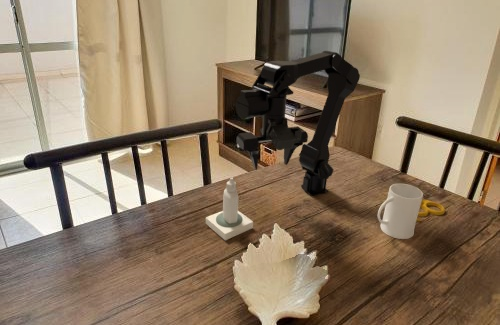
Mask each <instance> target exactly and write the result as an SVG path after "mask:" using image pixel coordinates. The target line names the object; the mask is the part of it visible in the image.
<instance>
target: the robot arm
mask: <svg viewBox="0 0 500 325" xmlns="http://www.w3.org/2000/svg"><path fill="white" fill-rule="evenodd" d="M319 72H324V73H325V74H326V75H327V80H326V87H327V92H328V93H327V96H326V97H327V98H326V100H325V103H324V105H323V108H322V111H321V114H320V117H319V120H318V122H317V124H316V128H315V131H314V134H313V136H312V139H311V140H310V141H309V140H308V138H309V135H308V132H307V131H306V130H304V129H303V128H301V127H300V126H292V127H291V126H290V127H289V125H288V124H289V123H288V122H289V121H288V118H287V117H286V110H287V109H286V108H287V107H286V106H287V96H290V95H293V94H294V91H293V90H292V89H291V88H290V86H292V85H294V84H295V83H296V82H297V80H298V79H300V78H302V77H306V76H309V75H312V74H315V73H319ZM360 77H361V75H360V72H359V69H358V68H357V67H354V66H353V65H352V64H351V63H350V62H348V61H347V60H346V59H344V58H343V57H342V55H341V54H340V53H338V52H336V51H330V50H324V51H321V52H318V53H316V54H312V55H309V56H308V55H307V56H305V57H301V58H297V59H294V60H288V61H287V60H286V61H285V60H270V61H266V62H265V63H264V64H263V66H262V68H261V71H260V72H259V74H258V76H257V77H256V79H255V81H254V82H253V84H252V86H251V89H242V90H240V95H238V97H237V98H236V102H235V104H234V105H235V112H236V114H237V117H239V119H240V120H241V119H242V120H246V119H251V118H253V119H254V118H257V117H260V118H261V119H262V128H260V129H259V130H260V133H261V135H255V134H254V133H253V132H251V131H250V132H249V131H248V132H240V133H238V134H237V136H236V144H237V145H238V146H239V147H240V148H241V149H242V150H243V151H246V153H248V156H249V157H250V161H251V163H252V166H253V168H254V170H255V171H257V170H258V168H259V167H258V166H259V162H258V161H259V160H258V159H259V158H258V157H259V156H258V154H259V153H260V149H258V147H259V144H262V143H263V144H264V143H268V142H269V143H270V142H272V144H273V146H274V148H275V149H276V150H277V151H282V150H283V161H284V162H283V163H284V165H286V166H287V165H289V161H290V160H291V158H292V156H293V153H294V152H295V150H296V149H297V148H299V147H300V146H301V151H300V153H299V154H298V157H299V158H298V162H299V164H300V165H301V169H302V170H303V171H305V172H304V176H303V181H302V184H301V186H300V187H301V188H302V189H303V190H304V191H305V192H306V193H307V194H308V195H309V196H311V197H312V196H318V195H323V194H327V193H329V190H328V189H327V188H326V187H327V182H328V179H330V177H332V175H333V172H334V168H333V167H332V165H330V164H329V160H330V155H331V154H330V148H329V144H330V141H331V139H332V136H333V132H334V129H335V128H336V125H337V122H338V119H339V118H340V114H341V111H342V108H343V106H344V102H345V100H346V98H348V97H349V96H350V95H351V94H352V93H354V91H355V89H356V87H357V85H358V84H359V81H360ZM308 141H309V142H308ZM307 142H308V143H307ZM306 143H307V144H306Z"/></svg>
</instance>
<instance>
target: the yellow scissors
mask: <svg viewBox="0 0 500 325" xmlns="http://www.w3.org/2000/svg"><path fill="white" fill-rule="evenodd" d="M428 206H432V207H436V208H439V209H440V210H435V209H432V208H430V207H428ZM420 209H422V210H423V212H421V211H419V212H418V216H417V220H416V222H421V221H422V219H421V217H423V218H424V217H426V216H428V215H429V214H430V215H435V216H442V215H445V212H446V209H445V207H444V206H443V205H442V204H440V203H437V202H434V201H431V200H428V199H424V198H422V201H421V205H420ZM419 217H420V218H419Z"/></svg>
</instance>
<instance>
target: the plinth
mask: <svg viewBox="0 0 500 325" xmlns="http://www.w3.org/2000/svg"><path fill="white" fill-rule="evenodd" d="M205 225H206V226H207V227H209V228H210V229H211V230H212V231H213V232H215V234H217V235H218V236H219V237H220V238H221V239H222V240H224V241H228V240H229V239H231V238H235V237H236V236H238V235H240V234H243V233H245V232H247V231H250V230H251V229H253V228H254V221H253V220H252V219H250V218H249V217H247V216H246V215H245V214H243V213H242V212H241V211H239V210H238V215H237V222H236V223H231V224H229V223H227V222H226V221H225V220H224V218H223V210H222V211H219V212H216V213H214V214H211V215H209V216H206V217H205Z"/></svg>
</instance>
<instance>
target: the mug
mask: <svg viewBox="0 0 500 325" xmlns="http://www.w3.org/2000/svg"><path fill="white" fill-rule="evenodd" d="M423 197H424V193H423V191H422V190H421V189H419V188H418V187H417V186H415V185H411V184H407V183H393V184H391V185H390V186H389V190H388V194H387V197H386V200H385V201H384V202H382V203H381V205H380V207H379V209H378V211H377V220H378V221H379V222H380V229H381V231H382V232H383V234H386V235H388V236H389V237H391V238H394V239H399V240H408V239H411V238H413V236H414V234H415V227H416V223H417V221H416V220H417V216H418V212H420V209H421V208H420V205H421V201H422V199H424V198H423ZM383 210H384V211H383ZM382 211H383V212H384V213H383V216H382V217H381V213H382ZM418 217H419V216H418ZM381 218H382V219H381Z"/></svg>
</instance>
